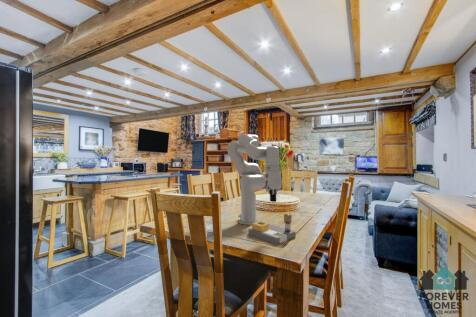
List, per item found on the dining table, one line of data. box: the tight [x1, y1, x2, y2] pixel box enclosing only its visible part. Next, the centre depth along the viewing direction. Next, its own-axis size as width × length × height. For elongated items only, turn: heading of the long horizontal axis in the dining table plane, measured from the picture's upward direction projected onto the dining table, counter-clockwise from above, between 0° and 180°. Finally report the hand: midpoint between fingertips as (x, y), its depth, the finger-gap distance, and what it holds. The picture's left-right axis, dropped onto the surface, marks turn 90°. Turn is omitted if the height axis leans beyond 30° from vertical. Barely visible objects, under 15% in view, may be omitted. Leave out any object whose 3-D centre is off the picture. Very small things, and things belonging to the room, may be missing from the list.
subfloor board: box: [247, 223, 297, 245], centre depth 126 cm, size 20×16×3 cm
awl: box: [283, 213, 293, 232], centre depth 124 cm, size 4×4×9 cm
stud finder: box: [251, 221, 270, 232], centre depth 127 cm, size 7×6×3 cm
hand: (273, 201), depth 128 cm, fingers closed
